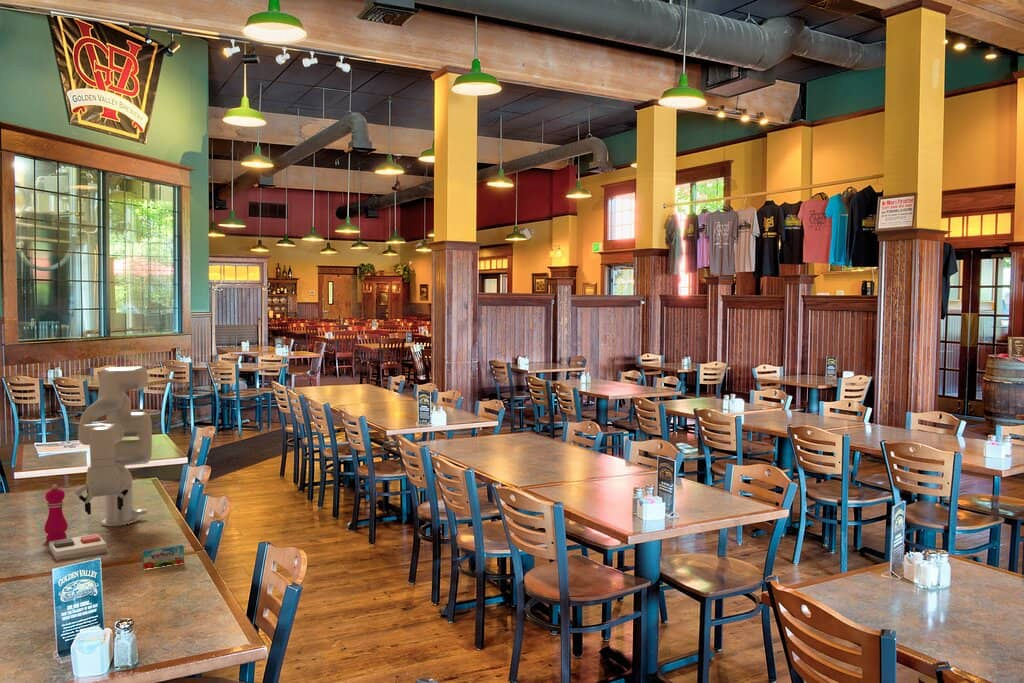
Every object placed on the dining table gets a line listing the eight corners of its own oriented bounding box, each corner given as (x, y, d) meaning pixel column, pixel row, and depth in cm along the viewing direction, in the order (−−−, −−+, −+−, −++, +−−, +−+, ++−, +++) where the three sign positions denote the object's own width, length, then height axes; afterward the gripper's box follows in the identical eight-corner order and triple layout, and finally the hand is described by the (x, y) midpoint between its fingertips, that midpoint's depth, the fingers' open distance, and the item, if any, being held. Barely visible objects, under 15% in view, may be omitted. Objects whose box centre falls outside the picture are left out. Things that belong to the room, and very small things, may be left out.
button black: (71, 545, 275) (71, 538, 275) (74, 548, 271) (73, 541, 271) (54, 548, 272) (54, 540, 272) (57, 551, 268) (56, 544, 268)
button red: (97, 541, 280) (97, 534, 279) (100, 544, 276) (100, 537, 276) (81, 544, 277) (81, 536, 276) (83, 547, 273) (83, 540, 272)
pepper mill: (57, 543, 283) (55, 486, 282) (39, 542, 285) (38, 486, 284) (72, 537, 290) (71, 482, 289) (55, 536, 292) (53, 481, 291)
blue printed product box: (143, 570, 253) (142, 551, 253) (142, 569, 254) (142, 550, 254) (184, 564, 259) (183, 545, 259) (183, 563, 260) (182, 544, 260)
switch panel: (97, 542, 284) (97, 533, 284) (106, 552, 272) (106, 543, 272) (49, 550, 275) (48, 541, 275) (56, 560, 263) (56, 551, 263)
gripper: (127, 457, 286) (128, 504, 287) (72, 464, 275) (74, 513, 277) (132, 461, 280) (133, 509, 281) (76, 468, 269) (78, 518, 271)
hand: (104, 511), depth 279 cm, fingers open, 9 cm apart
